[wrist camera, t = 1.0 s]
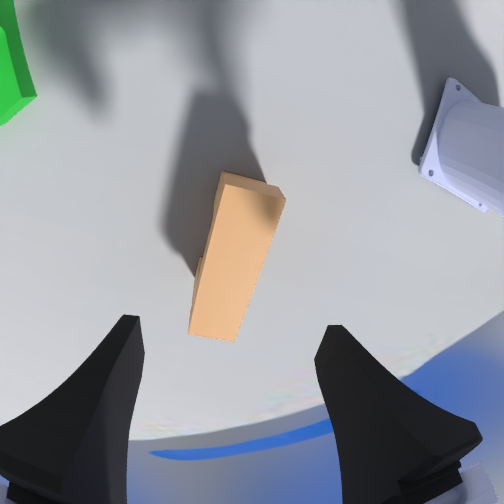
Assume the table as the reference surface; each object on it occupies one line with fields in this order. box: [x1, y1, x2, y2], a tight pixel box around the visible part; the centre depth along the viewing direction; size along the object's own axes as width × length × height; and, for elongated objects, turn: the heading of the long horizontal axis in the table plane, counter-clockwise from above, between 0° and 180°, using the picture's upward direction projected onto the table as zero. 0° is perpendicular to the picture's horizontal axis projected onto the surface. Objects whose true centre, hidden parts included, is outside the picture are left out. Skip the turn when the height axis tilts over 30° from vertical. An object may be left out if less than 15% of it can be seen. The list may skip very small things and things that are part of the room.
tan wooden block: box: [188, 171, 286, 342], centre depth 17 cm, size 3×9×5 cm, turn 163°
